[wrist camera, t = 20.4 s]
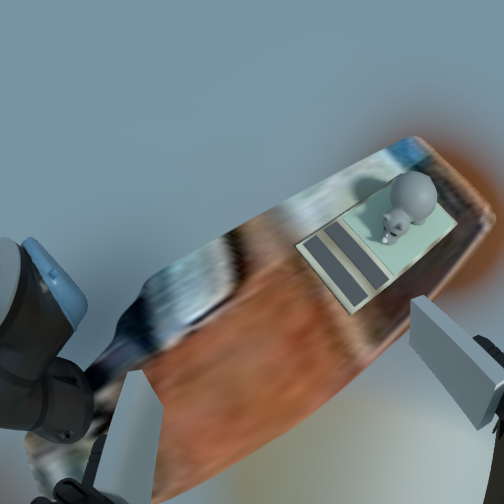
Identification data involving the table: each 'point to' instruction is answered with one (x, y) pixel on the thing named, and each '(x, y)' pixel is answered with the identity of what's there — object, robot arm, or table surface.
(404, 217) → the chubby cartoon animal
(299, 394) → the table surface
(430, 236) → the pad
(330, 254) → the dark gray parallel strips
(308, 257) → the board
